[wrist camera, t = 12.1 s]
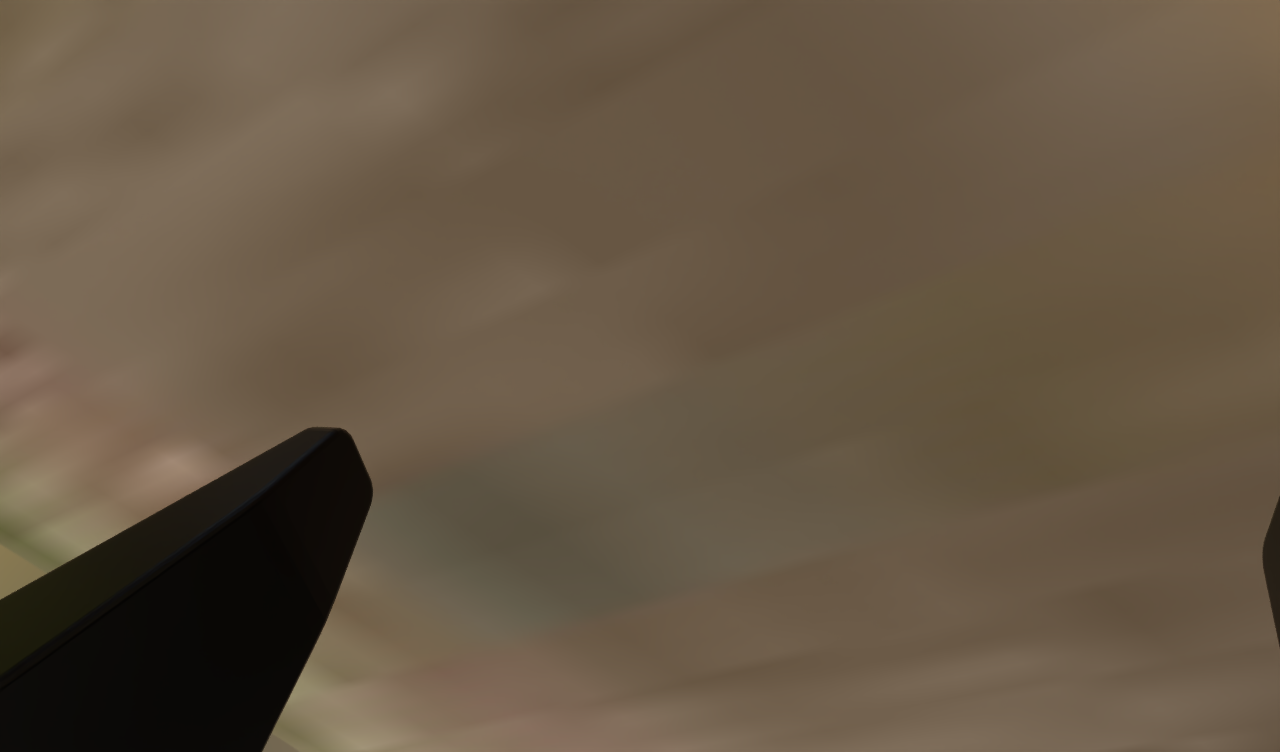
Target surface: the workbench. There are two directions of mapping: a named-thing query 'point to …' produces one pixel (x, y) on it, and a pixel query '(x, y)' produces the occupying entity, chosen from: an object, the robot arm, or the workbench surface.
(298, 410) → the workbench surface
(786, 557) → the workbench surface
